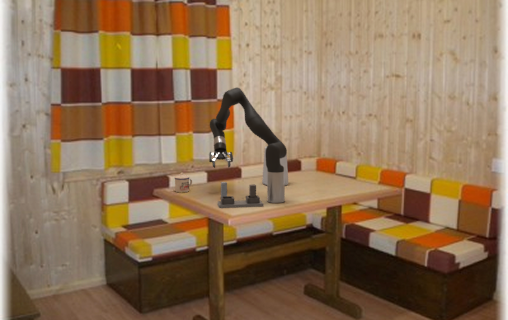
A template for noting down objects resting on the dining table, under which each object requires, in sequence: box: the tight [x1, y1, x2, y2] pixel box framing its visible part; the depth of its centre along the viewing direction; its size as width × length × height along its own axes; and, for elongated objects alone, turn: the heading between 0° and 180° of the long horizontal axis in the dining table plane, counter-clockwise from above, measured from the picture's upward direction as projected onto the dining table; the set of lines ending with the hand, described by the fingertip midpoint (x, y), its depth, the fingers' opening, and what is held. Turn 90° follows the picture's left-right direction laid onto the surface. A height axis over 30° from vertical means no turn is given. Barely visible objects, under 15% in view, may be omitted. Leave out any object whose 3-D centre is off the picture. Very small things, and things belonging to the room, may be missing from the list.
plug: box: [220, 181, 228, 198], centre depth 312 cm, size 3×4×10 cm
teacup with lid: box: [174, 172, 193, 193], centre depth 334 cm, size 12×9×12 cm
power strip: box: [216, 183, 264, 209], centre depth 295 cm, size 24×10×11 cm, turn 99°
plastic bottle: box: [261, 145, 289, 187], centre depth 354 cm, size 15×15×28 cm
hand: (221, 166), depth 321 cm, fingers open, 8 cm apart
